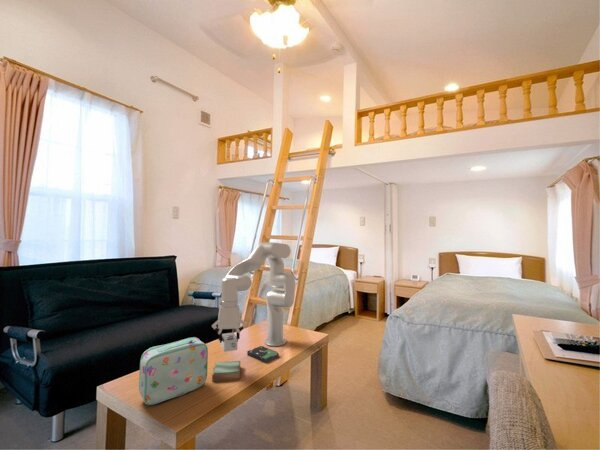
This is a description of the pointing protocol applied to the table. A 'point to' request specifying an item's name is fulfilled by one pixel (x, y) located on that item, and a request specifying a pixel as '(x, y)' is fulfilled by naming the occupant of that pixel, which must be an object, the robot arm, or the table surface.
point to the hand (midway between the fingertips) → (229, 340)
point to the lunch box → (172, 370)
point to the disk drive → (263, 354)
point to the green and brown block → (226, 371)
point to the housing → (229, 342)
